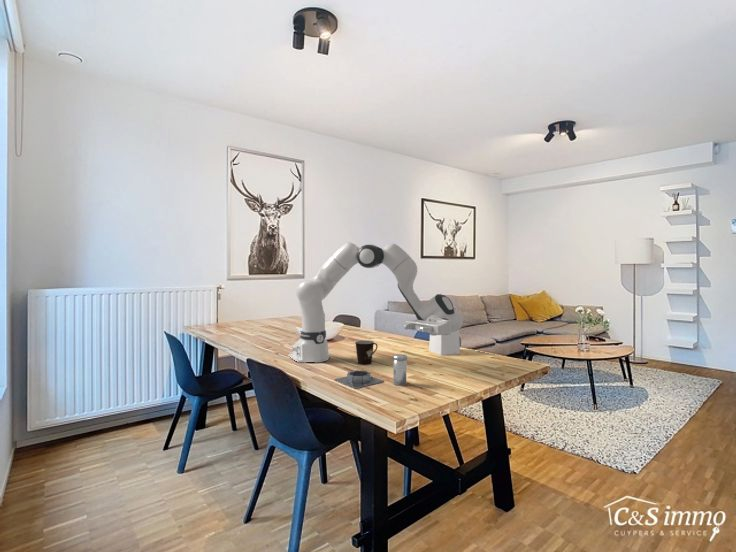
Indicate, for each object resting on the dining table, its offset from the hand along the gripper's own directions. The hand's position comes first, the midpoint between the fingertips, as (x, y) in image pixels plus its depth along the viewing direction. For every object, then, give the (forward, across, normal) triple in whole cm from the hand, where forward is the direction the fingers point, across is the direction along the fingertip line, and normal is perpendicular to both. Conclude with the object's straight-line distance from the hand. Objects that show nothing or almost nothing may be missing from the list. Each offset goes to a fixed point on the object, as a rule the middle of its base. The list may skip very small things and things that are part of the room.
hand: (413, 328), depth 161 cm
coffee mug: (+1, -28, +20) cm, 35 cm away
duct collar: (+22, -8, +20) cm, 31 cm away
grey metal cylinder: (+12, +5, +20) cm, 24 cm away
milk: (-45, -20, +20) cm, 53 cm away
